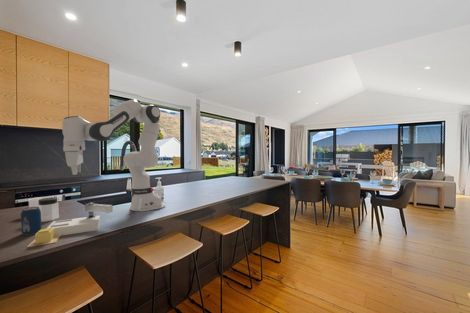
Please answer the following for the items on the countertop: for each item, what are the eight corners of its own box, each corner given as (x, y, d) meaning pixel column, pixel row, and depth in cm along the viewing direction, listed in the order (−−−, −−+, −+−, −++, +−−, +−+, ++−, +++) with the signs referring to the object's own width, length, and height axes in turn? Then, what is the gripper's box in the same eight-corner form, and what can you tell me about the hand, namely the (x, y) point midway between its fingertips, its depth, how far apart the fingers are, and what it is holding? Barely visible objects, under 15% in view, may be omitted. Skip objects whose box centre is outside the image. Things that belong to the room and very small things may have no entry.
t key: (89, 215, 113) (89, 202, 112) (113, 217, 109) (112, 203, 109) (84, 217, 110) (84, 203, 110) (108, 219, 107) (108, 205, 106)
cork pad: (61, 235, 97) (61, 234, 97) (55, 242, 89) (55, 242, 89) (35, 239, 93) (35, 238, 93) (27, 247, 85) (27, 246, 85)
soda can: (41, 228, 105) (40, 205, 105) (41, 232, 100) (40, 208, 99) (22, 232, 100) (21, 208, 100) (21, 237, 95) (20, 211, 95)
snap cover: (54, 236, 94) (54, 227, 94) (50, 241, 90) (50, 230, 90) (39, 239, 92) (39, 228, 92) (35, 243, 88) (35, 233, 87)
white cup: (34, 217, 123) (33, 200, 123) (25, 215, 126) (25, 199, 125) (49, 213, 131) (49, 197, 130) (41, 212, 133) (40, 196, 133)
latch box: (100, 222, 114) (100, 214, 114) (97, 230, 103) (97, 220, 103) (53, 229, 105) (53, 220, 104) (45, 238, 94) (45, 228, 94)
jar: (36, 223, 113) (35, 201, 113) (39, 218, 120) (39, 198, 120) (57, 219, 118) (57, 199, 118) (59, 216, 125) (59, 196, 124)
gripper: (71, 146, 115) (73, 171, 116) (62, 147, 97) (64, 176, 98) (85, 146, 118) (87, 170, 119) (78, 147, 100) (80, 175, 101)
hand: (76, 173), depth 109 cm, fingers open, 8 cm apart
